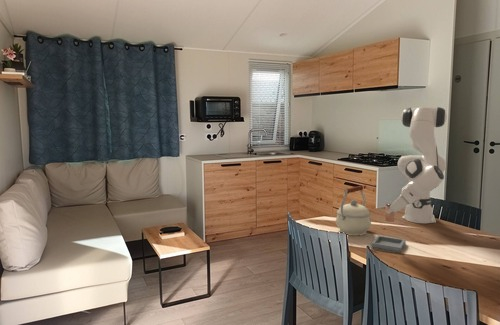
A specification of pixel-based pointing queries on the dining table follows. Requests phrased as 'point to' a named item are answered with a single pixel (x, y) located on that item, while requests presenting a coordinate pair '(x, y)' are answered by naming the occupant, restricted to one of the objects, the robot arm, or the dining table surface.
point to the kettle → (353, 215)
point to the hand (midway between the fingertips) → (388, 211)
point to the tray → (388, 244)
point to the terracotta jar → (389, 216)
